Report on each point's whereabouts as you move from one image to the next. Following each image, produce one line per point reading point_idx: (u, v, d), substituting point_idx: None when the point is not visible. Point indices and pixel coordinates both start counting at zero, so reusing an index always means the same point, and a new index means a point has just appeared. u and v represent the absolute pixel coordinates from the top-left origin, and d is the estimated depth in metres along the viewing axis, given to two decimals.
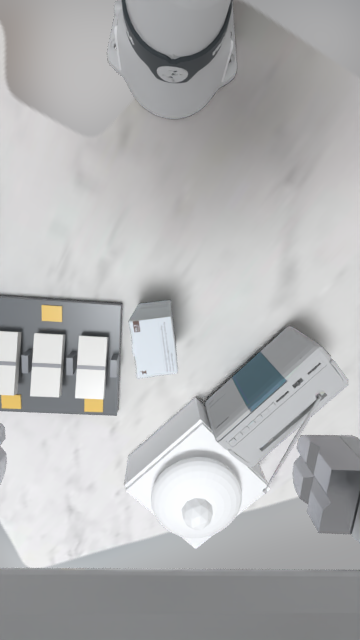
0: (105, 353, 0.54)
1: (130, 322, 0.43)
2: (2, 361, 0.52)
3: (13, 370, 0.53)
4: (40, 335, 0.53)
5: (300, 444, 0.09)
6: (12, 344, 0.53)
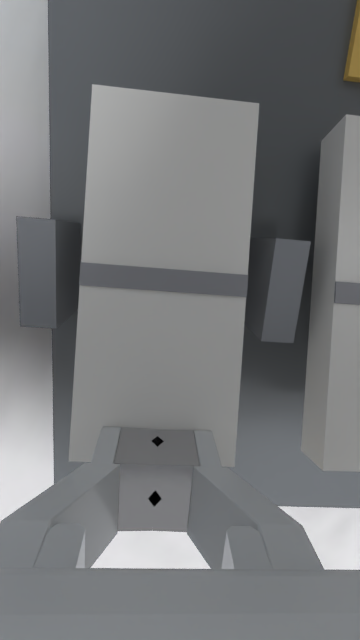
0: None
1: None
2: (173, 270, 0.09)
3: (235, 322, 0.09)
4: None
5: None
6: (229, 171, 0.09)
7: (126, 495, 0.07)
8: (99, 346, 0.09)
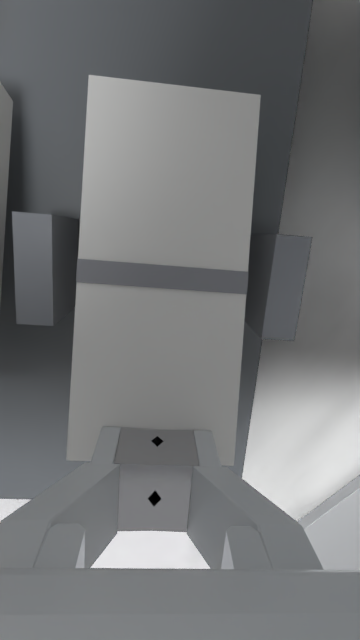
0: (247, 195, 0.09)
1: None
2: None
3: None
4: None
5: None
6: None
7: (126, 495, 0.07)
8: None
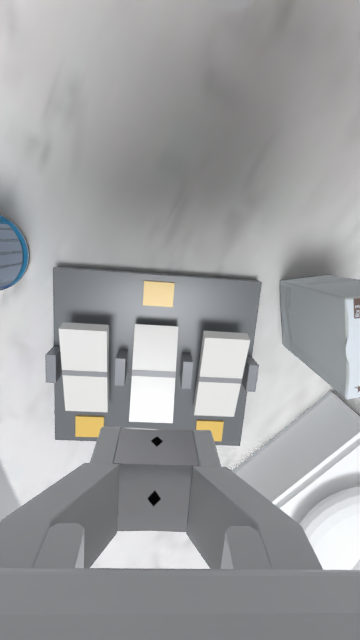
0: (244, 361, 0.34)
1: (349, 300, 0.24)
2: (86, 371, 0.34)
3: (104, 382, 0.34)
4: (144, 327, 0.34)
5: None
6: (99, 348, 0.33)
7: (125, 495, 0.07)
8: (69, 387, 0.34)
